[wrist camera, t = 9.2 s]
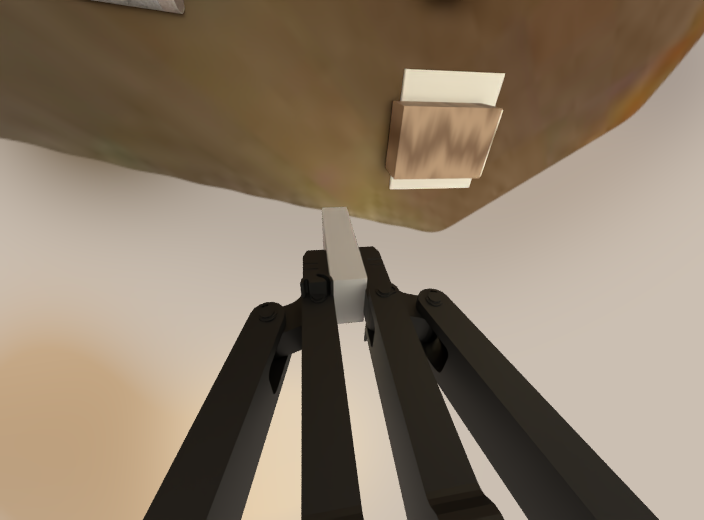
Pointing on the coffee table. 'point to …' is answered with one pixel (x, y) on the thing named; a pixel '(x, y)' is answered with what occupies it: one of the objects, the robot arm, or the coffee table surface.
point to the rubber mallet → (152, 4)
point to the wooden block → (440, 139)
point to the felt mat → (446, 90)
